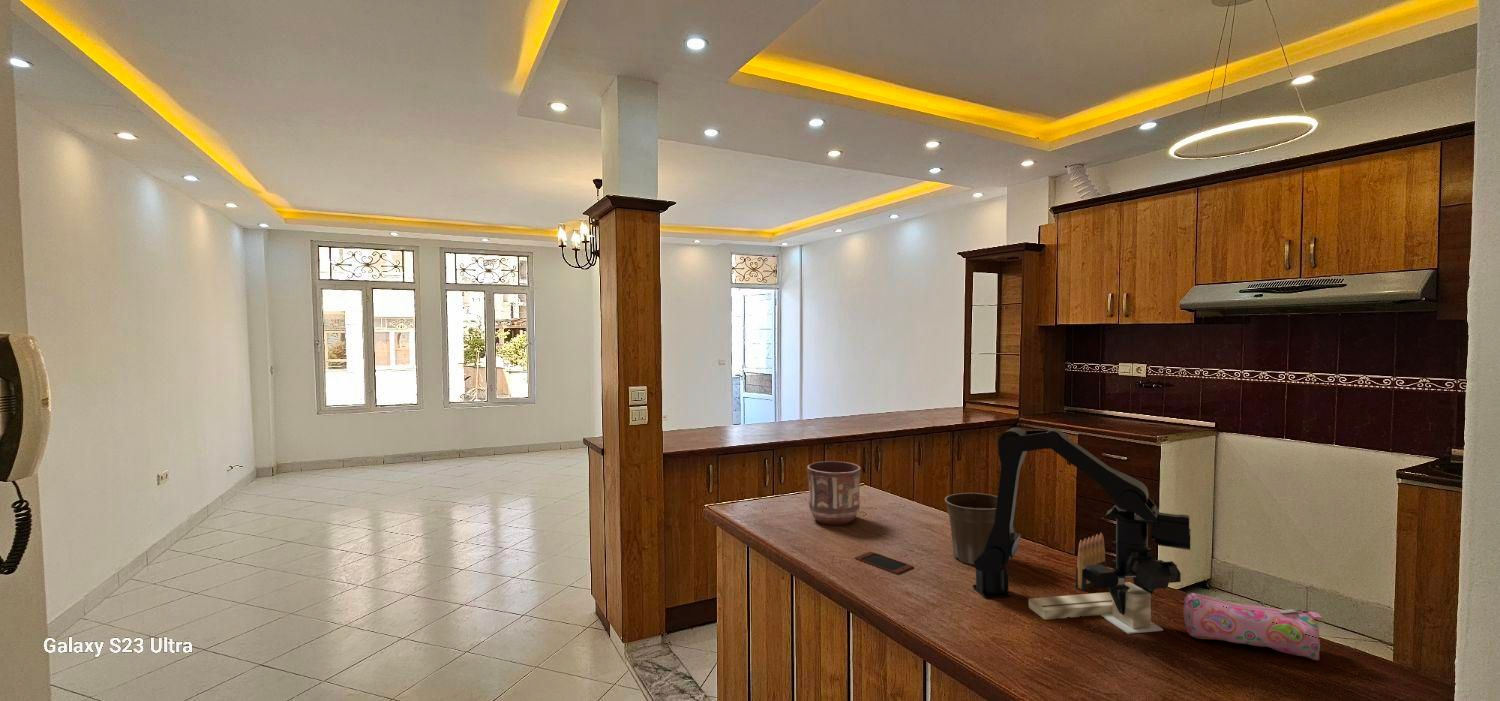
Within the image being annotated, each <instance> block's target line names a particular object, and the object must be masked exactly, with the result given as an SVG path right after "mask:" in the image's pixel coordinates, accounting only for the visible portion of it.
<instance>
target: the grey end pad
mask: <svg viewBox="0 0 1500 701" xmlns="http://www.w3.org/2000/svg"><path fill="white" fill-rule="evenodd" d="M1100 616H1101V617H1102V618H1103V617H1104V618H1103V619H1105V621H1108V622H1110V623H1111V624H1112V625H1114V626H1115V627H1117V628H1119V629H1120V630H1122V631H1123V632H1124V633H1126V634H1128V635H1130V634H1138V633H1139V634H1140V633H1149V632H1150V633H1151V632H1163V631H1164V628H1162V627H1161V626H1159V625H1158V624H1156V623H1154V622H1152V621H1151V627H1141V628H1132V627H1130V626H1129V625H1127V624H1126V623H1124V622H1123V621H1121V620H1120V619H1118V618H1116V617H1115V616H1113V614H1103V615H1100Z"/></svg>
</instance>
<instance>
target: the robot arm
mask: <svg viewBox="0 0 1500 701" xmlns="http://www.w3.org/2000/svg"><path fill="white" fill-rule="evenodd" d="M1044 449H1045V450H1047V449H1051V450H1053V452H1055V453H1056V454H1057V455H1059V456H1061V457H1062V458H1063V459H1065V460H1066V461H1067V462H1069V463H1070V464H1071V465H1073V466H1074V467H1075V468H1076V469H1078V470H1079V471H1081V472H1082V473H1083V474H1084V475H1086V476H1088V478H1091V479H1092V481H1095V483H1097V484H1098V485H1099V486H1100V487H1101V488H1102V489H1103V490H1104V492H1105V493H1106V494H1107V496H1108V497H1109V498H1110V499H1111V500H1112V501H1113V502H1114V503H1115V505H1113V507H1112V508H1111V509H1109V510H1107V512H1106V514H1105V517H1106V518H1108V519H1114V520H1115V522H1116V523H1115V541H1113V540H1112V541H1111V546H1112V547H1113V548H1115V559H1111V566H1113V567H1115V569H1114V568H1113V569H1111V568H1109V567H1105V566H1103V565H1101V564H1097V565H1086V566H1085V567H1084V569H1083V578H1085V579H1087V580H1088V581H1090V582H1092V583H1093V584H1095V585H1096V586H1097V587H1098V588H1101V589H1106V588H1107V590H1108V592H1110V594H1111V596H1112V598H1113V600H1114V602H1115V605H1116V607H1117V609H1118V611H1119V613H1120V614H1122V615H1124V613H1125V593H1126V591H1127V590H1129V589H1130V587H1128V586H1126V585H1125V582H1126V579H1132V580H1133V584H1134V585H1136V586H1138V587H1140V588H1142V589H1143V590H1145V591H1147V592H1149V593H1151V596H1152V595H1153V593H1154V591H1155V590H1158V589H1163V590H1165V589H1167V588H1168V587H1169V585H1170V583H1171V584H1172V583H1181V577H1182V576H1181V575H1182V574H1181V571H1180V569H1179V568H1178V565H1177V564H1176V563H1174V561H1172V560H1171V561H1170V560H1169V561H1164V560H1162V559H1157V560H1156V559H1155V557H1154V552H1153V549H1152V548H1150V547H1149V546H1148V542H1149V541H1148V540H1149V538H1148V536H1149V535H1148V534H1149V533H1148V531H1149V530H1148V529H1149V524H1150V526H1151V528H1150V529H1151V530H1150V532H1151V533H1150V536H1151V537H1150V539H1151V540H1154V543H1156V544H1157V546H1161V547H1167V548H1173V549H1180V550H1187V551H1191V532H1192V531H1191V528H1190V516H1189V515H1188V514H1174V513H1166V512H1159V508H1158V507H1157V505H1156V504H1155V503H1154V501H1153V500H1152V499H1151V498H1150V496H1149V490H1148V487H1147V486H1146V485H1145V484H1144V482H1142V481H1140V480H1138V479H1136V478H1134V477H1132V476H1130V475H1129V474H1126V473H1124V472H1121V471H1119V470H1117V469H1114V468H1113V467H1110V466H1108V465H1107V464H1106V463H1105V462H1103V461H1102V460H1100V459H1099V458H1098V457H1096V456H1095V455H1093V454H1092V453H1090V452H1089V451H1088V450H1087V449H1085V448H1084V447H1082V446H1080V444H1078V443H1076V442H1075V441H1074V440H1072V439H1071V438H1070V437H1068V436H1067V435H1065V433H1064V432H1063V431H1062V430H1060V429H1058V428H1051V429H1032V430H1031V429H1030V430H1025V429H1023V428H1020V427H1011V428H1010V429H1008V430H1006V431H1004V432H1003V433H1001V434H1000V435H999V436H998V440H997V451H998V459H999V464H1000V473H999V481H998V488H997V495H996V496H997V503H996V511H995V519H994V525H993V527H992V530H991V532H990V534H989V537H988V539H987V542H986V545H985V548H984V551H983V552H982V553H981V554H980V555H979V556H978V557H977V559H976V560H975V561H974V564H975V565H974V567H975V584H972V588H973V589H974V590H975V591H977V593H979V594H980V595H981V596H983V597H984V598H985V599H989V598H1001V597H1002V598H1004V597H1012V595H1011V594H1012V593H1010V592H1009V589H1010V588H1009V586H1010V584H1009V582H1010V581H1009V580H1010V577H1009V573H1008V567H1007V566H1005V565H1008V563H1009V561H1011V559H1013V558H1014V556H1016V554H1017V552H1018V551H1019V550H1020V548H1019V540H1020V538H1021V533H1018V532H1015V529H1014V528H1015V527H1014V520H1015V519H1014V518H1015V511H1016V504H1017V496H1018V489H1019V480H1020V474H1021V468H1022V465H1023V463H1024V461H1025V458H1026V456H1027V453H1028V452H1032V451H1037V450H1044Z"/></svg>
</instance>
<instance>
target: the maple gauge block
mask: <svg viewBox="0 0 1500 701" xmlns="http://www.w3.org/2000/svg"><path fill="white" fill-rule="evenodd" d="M1125 585H1126V586H1128V587H1130V589H1129V590H1127V591H1126V593H1125V613H1124V615H1122V614H1120V613H1119V611H1118V609H1117V607H1116V605H1115V602H1114V600H1113V616H1115V617H1116V618H1118V619H1120V620H1121V621H1123V622H1124V623H1126V624H1127V625H1129V626H1130V627H1132V628H1141V627H1151V622H1152V620H1151V616H1152V615H1151V614H1152V613H1151V611H1152V610H1151V608H1152V607H1151V605H1152V604H1151V602H1152V600H1151V598H1152V595H1151V593H1149V592H1147V591H1145V590H1143V589H1142V588H1140V587H1138V586H1136V585H1134V583H1132V582H1131V581H1125Z"/></svg>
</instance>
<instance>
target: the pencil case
mask: <svg viewBox="0 0 1500 701" xmlns="http://www.w3.org/2000/svg"><path fill="white" fill-rule="evenodd" d="M1223 606H1224V607H1223ZM1226 607H1227V608H1226ZM1182 612H1183V620H1184V623H1185V626H1186V631H1187V633H1188V635H1189V636H1191V637H1193V638H1195V639H1199V640H1216V641H1225V642H1229V643H1235V644H1243V645H1245V644H1246V645H1250V646H1255V647H1261V648H1266V647H1267V648H1270V649H1273V650H1275V651H1278V652H1280V653H1284V654H1288V655H1289V654H1290V655H1293V656H1297V657H1305V658H1308V659H1311V660H1313V661H1317V662H1318V661H1319V660H1320V649H1321V641H1320V640H1321V639H1318V638H1320V628H1319V626H1318V622H1316V620H1315V619H1318V620H1323V619H1324V618H1323V616H1322V615H1321V614H1320V613H1318V612H1315V611H1308V610H1307V609H1301V608H1295V609H1290V608H1289V609H1281V608H1280V609H1279V608H1271V607H1265V606H1258V605H1252V604H1251V605H1249V604H1248V605H1247V604H1240V603H1233V602H1228V601H1227V602H1226V601H1224V600H1219V599H1216V598H1214V597H1209V596H1206V595H1202V594H1198V593H1194V592H1188V593H1186V594H1185V596H1184V598H1183V610H1182ZM1272 622H1274V623H1272ZM1276 623H1277V624H1276ZM1305 634H1307V635H1305ZM1308 635H1310V636H1308ZM1312 636H1314V637H1312ZM1315 637H1317V638H1315Z"/></svg>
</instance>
